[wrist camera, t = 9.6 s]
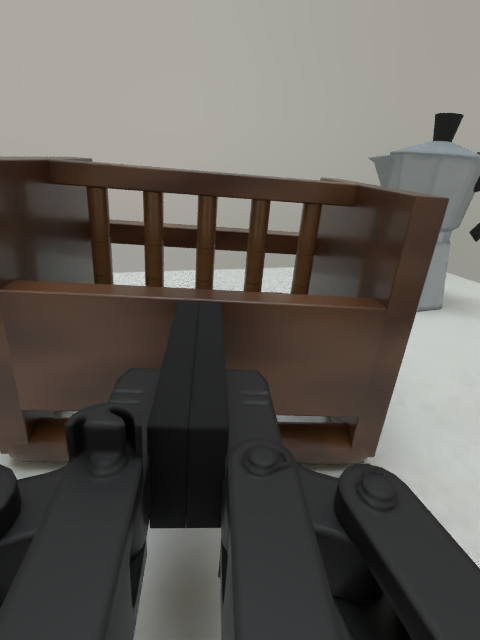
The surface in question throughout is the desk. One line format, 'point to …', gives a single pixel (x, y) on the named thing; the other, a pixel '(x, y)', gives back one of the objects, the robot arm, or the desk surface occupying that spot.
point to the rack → (207, 296)
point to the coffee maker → (436, 190)
